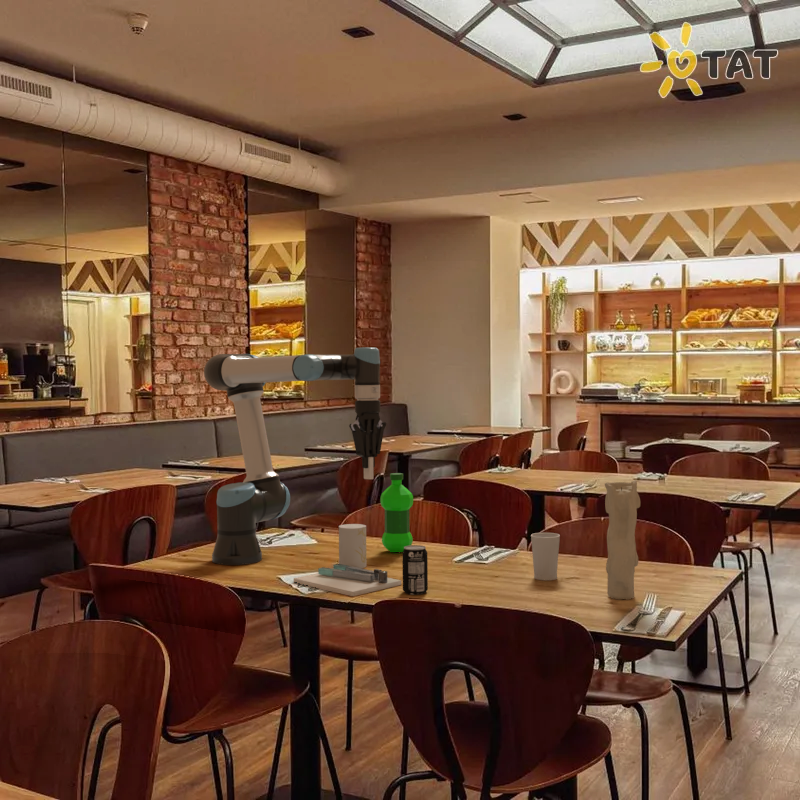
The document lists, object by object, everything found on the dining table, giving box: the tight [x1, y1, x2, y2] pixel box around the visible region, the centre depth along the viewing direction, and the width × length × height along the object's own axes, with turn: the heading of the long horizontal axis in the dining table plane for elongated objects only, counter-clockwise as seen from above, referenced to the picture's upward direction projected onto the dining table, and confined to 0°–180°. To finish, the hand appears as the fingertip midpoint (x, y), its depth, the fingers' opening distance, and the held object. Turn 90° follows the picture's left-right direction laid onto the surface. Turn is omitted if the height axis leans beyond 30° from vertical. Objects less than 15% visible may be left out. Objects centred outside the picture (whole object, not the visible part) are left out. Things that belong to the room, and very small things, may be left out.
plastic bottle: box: [379, 472, 414, 553], centre depth 314 cm, size 10×10×25 cm
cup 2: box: [530, 532, 561, 581], centre depth 274 cm, size 8×8×12 cm
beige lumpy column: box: [604, 479, 641, 600], centre depth 249 cm, size 9×8×30 cm
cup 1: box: [338, 523, 368, 569], centre depth 292 cm, size 8×8×12 cm
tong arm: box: [317, 567, 375, 582], centre depth 270 cm, size 18×2×2 cm, turn 55°
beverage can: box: [401, 544, 429, 596], centre depth 258 cm, size 7×7×12 cm
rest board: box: [293, 572, 402, 597], centre depth 269 cm, size 24×18×1 cm
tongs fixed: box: [332, 563, 389, 583], centre depth 272 cm, size 22×4×4 cm, turn 46°
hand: (368, 478), depth 292 cm, fingers closed
